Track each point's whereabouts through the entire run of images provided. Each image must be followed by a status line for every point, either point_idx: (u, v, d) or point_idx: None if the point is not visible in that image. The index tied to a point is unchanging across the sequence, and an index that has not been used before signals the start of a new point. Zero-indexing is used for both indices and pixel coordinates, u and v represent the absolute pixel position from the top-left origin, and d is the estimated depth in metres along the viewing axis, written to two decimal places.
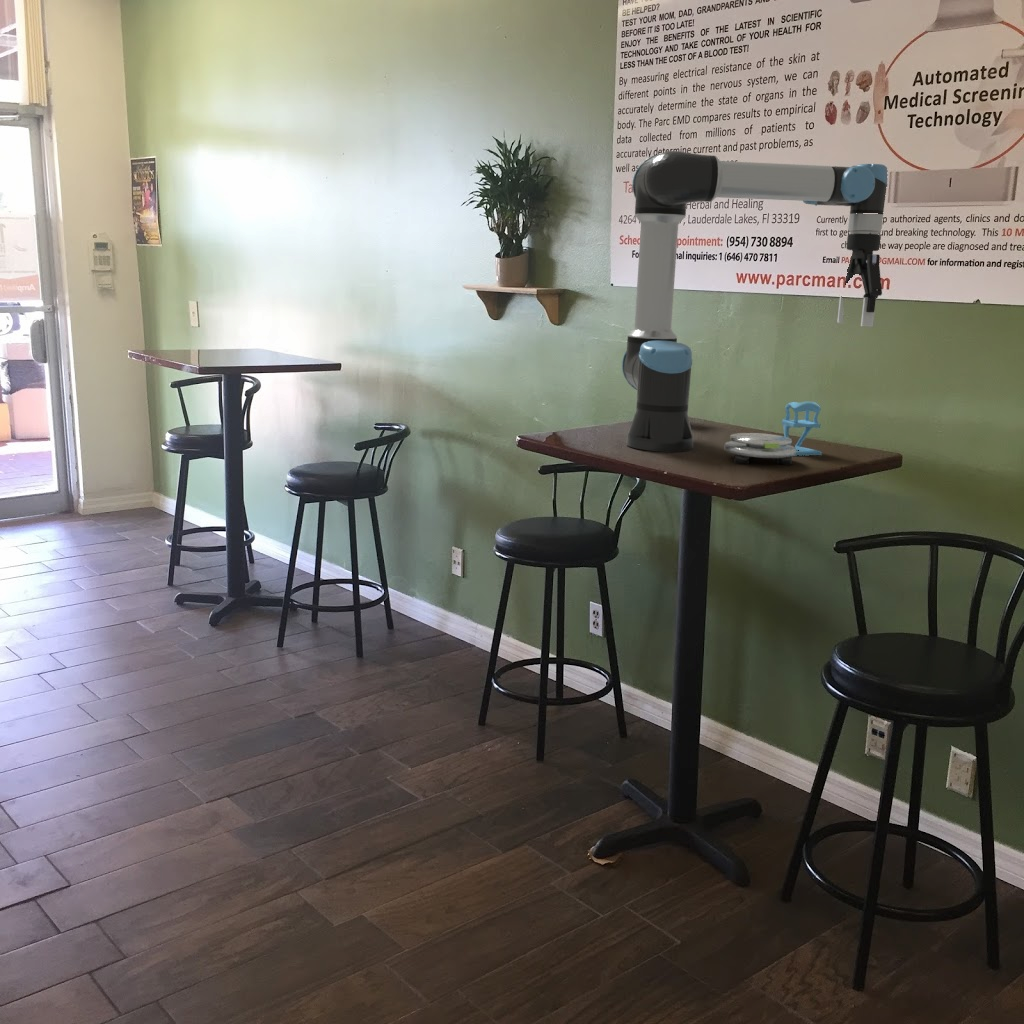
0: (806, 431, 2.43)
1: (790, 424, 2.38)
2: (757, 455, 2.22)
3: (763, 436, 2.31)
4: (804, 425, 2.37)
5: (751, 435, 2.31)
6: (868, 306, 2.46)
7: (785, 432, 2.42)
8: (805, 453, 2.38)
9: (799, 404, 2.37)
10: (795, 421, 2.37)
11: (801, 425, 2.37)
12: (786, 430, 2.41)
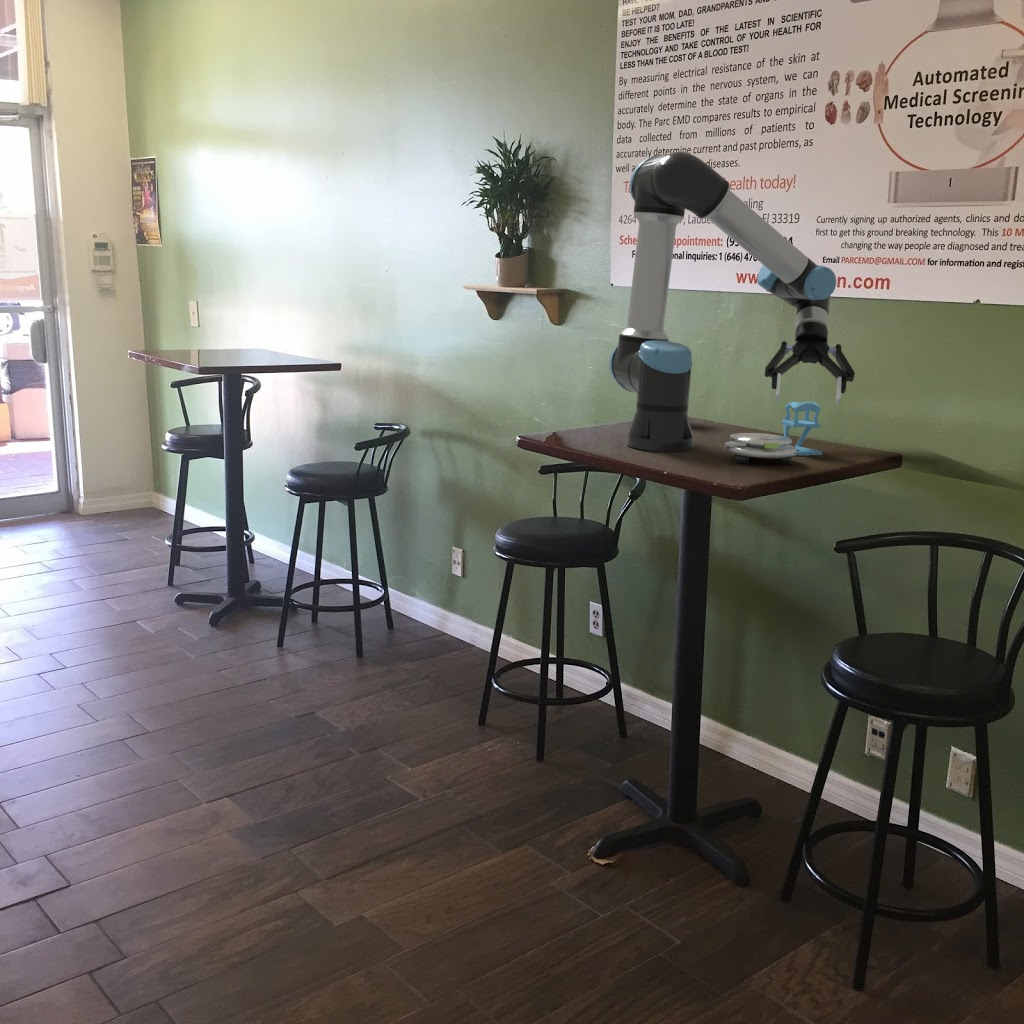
0: (806, 431, 2.43)
1: (790, 424, 2.38)
2: (757, 455, 2.22)
3: (763, 436, 2.31)
4: (804, 425, 2.37)
5: (751, 435, 2.31)
6: (844, 385, 2.45)
7: (785, 432, 2.42)
8: (805, 453, 2.38)
9: (799, 404, 2.37)
10: (795, 421, 2.37)
11: (801, 425, 2.37)
12: (786, 430, 2.41)
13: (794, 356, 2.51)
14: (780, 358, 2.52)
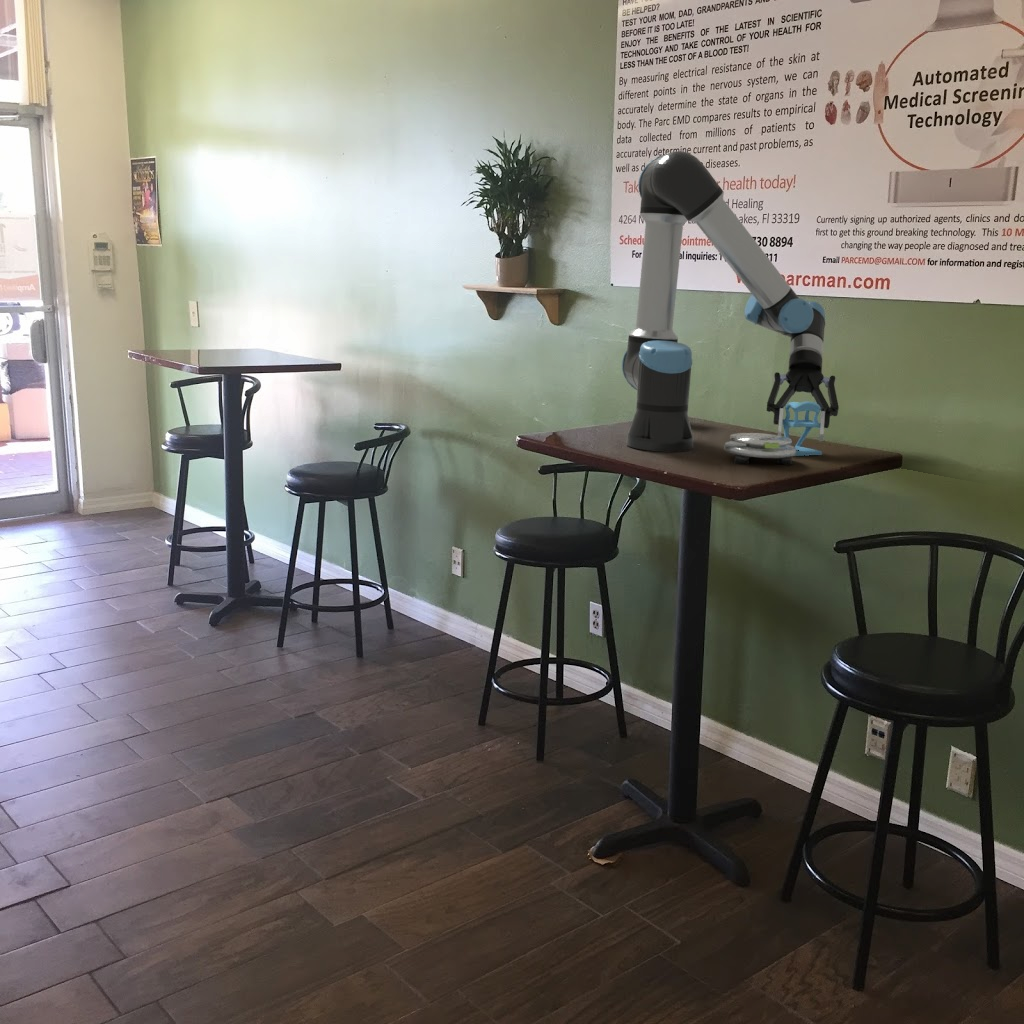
0: (806, 430, 2.43)
1: (790, 424, 2.38)
2: (757, 455, 2.22)
3: (763, 436, 2.31)
4: (804, 425, 2.37)
5: (751, 435, 2.31)
6: (827, 419, 2.38)
7: (785, 432, 2.42)
8: (805, 453, 2.38)
9: (799, 404, 2.36)
10: (795, 421, 2.37)
11: (801, 425, 2.37)
12: (786, 430, 2.41)
13: (791, 387, 2.44)
14: (777, 390, 2.45)
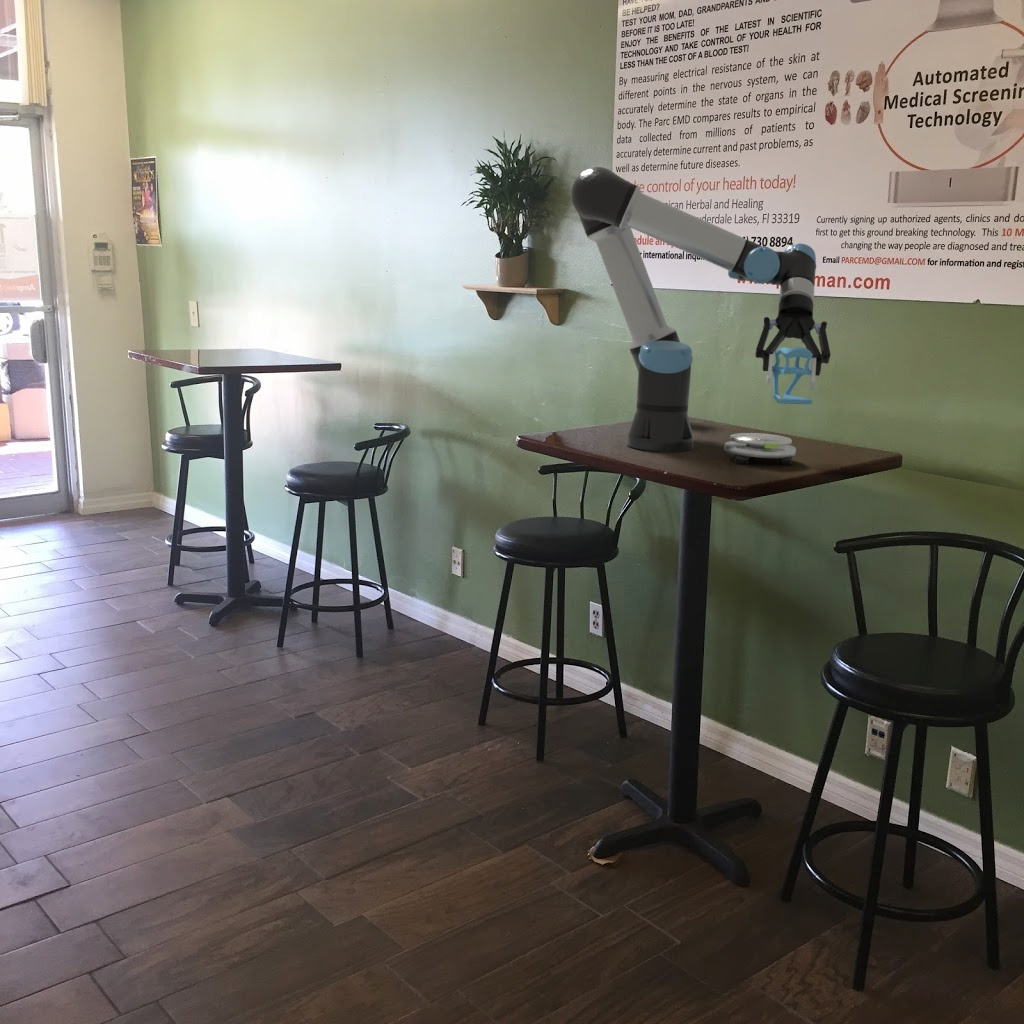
0: (796, 378, 2.33)
1: (780, 371, 2.28)
2: (757, 455, 2.22)
3: (763, 436, 2.31)
4: (795, 372, 2.27)
5: (751, 435, 2.31)
6: (819, 367, 2.29)
7: (774, 379, 2.32)
8: (795, 401, 2.28)
9: (790, 350, 2.26)
10: (786, 367, 2.27)
11: (792, 372, 2.27)
12: (776, 377, 2.32)
13: (781, 332, 2.33)
14: (767, 335, 2.35)
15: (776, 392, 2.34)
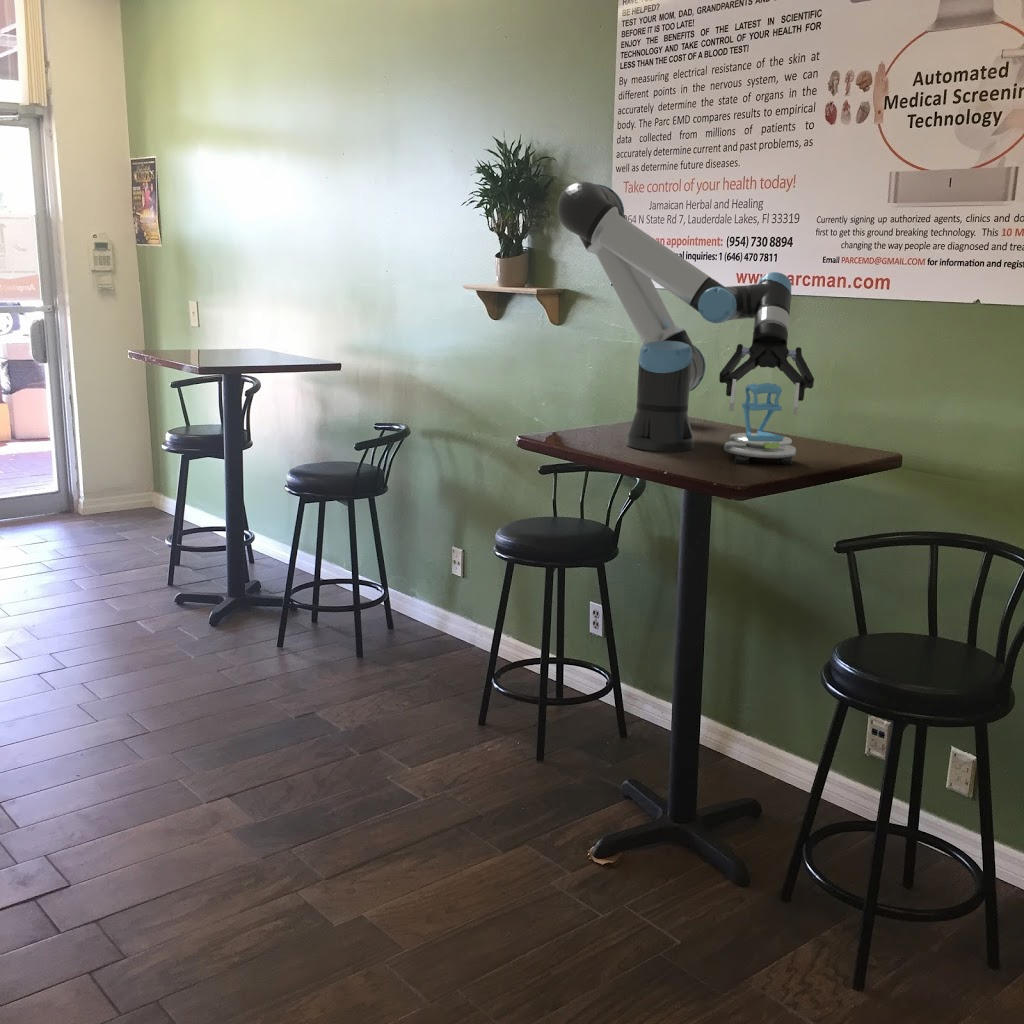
0: (768, 414, 2.29)
1: (749, 407, 2.25)
2: (757, 455, 2.22)
3: None
4: (764, 408, 2.24)
5: (751, 435, 2.31)
6: (802, 392, 2.25)
7: (745, 416, 2.29)
8: (765, 438, 2.25)
9: (758, 386, 2.23)
10: (754, 404, 2.24)
11: (761, 408, 2.24)
12: (746, 414, 2.28)
13: (751, 360, 2.31)
14: (736, 362, 2.32)
15: (748, 429, 2.31)
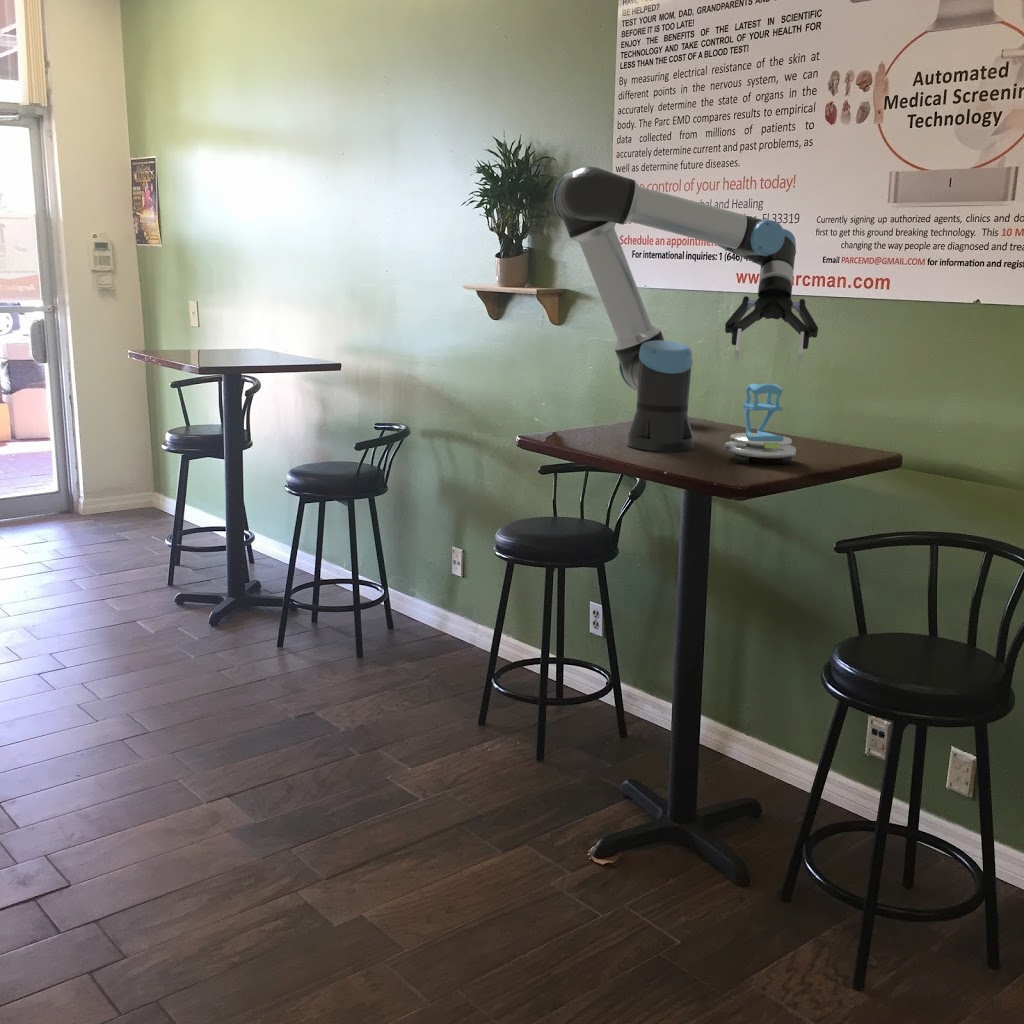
0: (768, 415, 2.29)
1: (750, 407, 2.25)
2: (757, 455, 2.22)
3: None
4: (764, 408, 2.24)
5: (751, 435, 2.31)
6: (806, 340, 2.35)
7: (746, 416, 2.29)
8: (765, 438, 2.25)
9: (759, 386, 2.23)
10: (755, 404, 2.24)
11: (761, 408, 2.24)
12: (746, 414, 2.28)
13: (756, 311, 2.40)
14: (741, 314, 2.42)
15: (748, 429, 2.31)
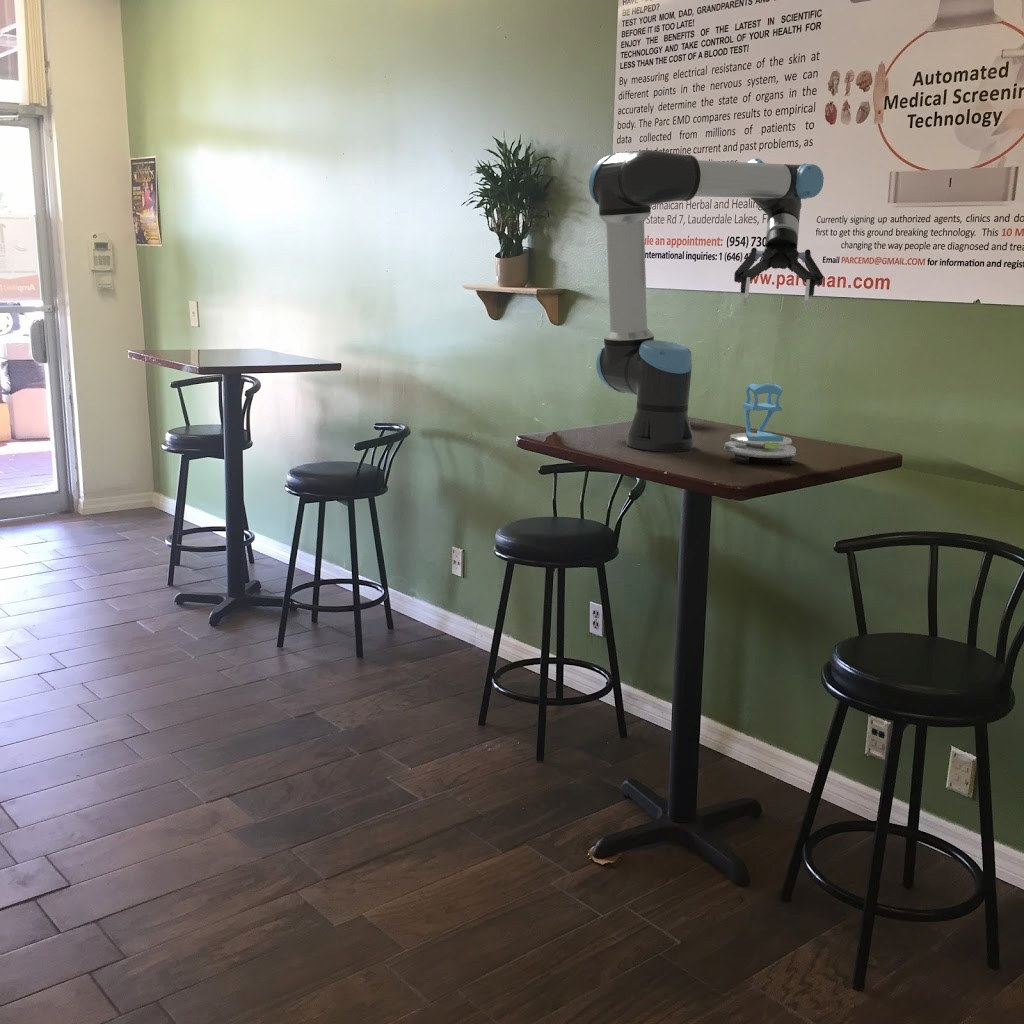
0: (768, 415, 2.29)
1: (750, 407, 2.25)
2: (757, 455, 2.22)
3: None
4: (764, 408, 2.24)
5: (751, 435, 2.31)
6: (812, 287, 2.46)
7: (746, 416, 2.29)
8: (765, 438, 2.25)
9: (759, 386, 2.23)
10: (755, 404, 2.24)
11: (761, 408, 2.24)
12: (746, 414, 2.28)
13: (763, 261, 2.52)
14: (750, 264, 2.54)
15: (748, 429, 2.31)
